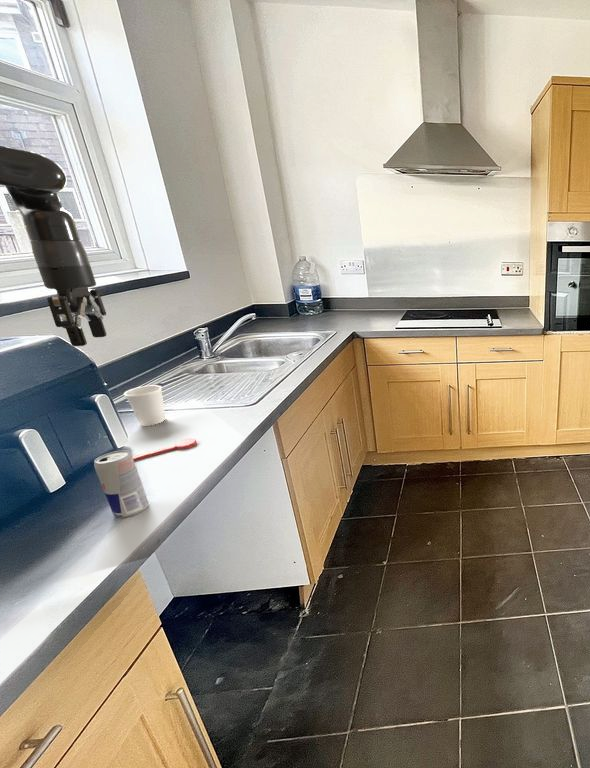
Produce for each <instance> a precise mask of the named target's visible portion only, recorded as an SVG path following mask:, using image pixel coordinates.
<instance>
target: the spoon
mask: <svg viewBox="0 0 590 768" xmlns="http://www.w3.org/2000/svg"><path fill="white" fill-rule="evenodd" d="M197 444H198V442H197V439H196V438H185V439H181V440H179V441H177V442H175V444H174V445H171V446H166V447H163V448H159V449H156V450H152V451H149V452H145V453H142V454H137V455H135V456H132V457H133V460H134V462H136V461H139V460H142V459H147V458H150V457H153V456H156V455H160V454H163V453H169V452H171V451H174V450H186V449H190V448H193V447H195V446H196V445H197Z"/></svg>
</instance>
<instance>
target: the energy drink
mask: <svg viewBox="0 0 590 768" xmlns="http://www.w3.org/2000/svg"><path fill="white" fill-rule="evenodd" d="M133 457H134V456H133V455H132V454H131V452H130V451H128V450H125V449H124V450H115V451H111V452H107V453H104V454H102V455H100V456H98V457H97V458H95V459H94V461H93V463H94V464H93V467H94V470H95V473H96V475H97V477H98V480H99V483H100V485H101V488H102V490H103V493H104V495H105V498H106V501H107V503H108V505H109V507H110V510H111V512H112V515H113V516H114V517H115V518H119V519H120V518H123V519H124V518H129V517H132V516H135V515H137V514H140V513H141V512H143V511H144V510H146V509H147V508H148V506H149V504H150V502H149V499H148V496H147V493H146V491H145V488H144V485H143V483H142V480H141V477H140V474H139V471H138V468H137V466H136V463H135V461H134V460H133Z"/></svg>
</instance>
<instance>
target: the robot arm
mask: <svg viewBox="0 0 590 768" xmlns="http://www.w3.org/2000/svg"><path fill="white" fill-rule="evenodd" d="M67 182H68V181H67V175H66V172H65V171H64V169H63V168H62V167H61V165H59V164H58V163H57V162H55V161H54V160H52V159H51V158H50V157H47V156H45V155H43V154H40V153H37V152H33V151H30V150H24V149H20V148H14V147H9V146H3V145H0V186H4V187H5V188H6V190H7V192H8V195H9V196H10V198H11V199H12V201H13V203H14V205H15V206H16V208H17V210H18V211H19V213H20V216H21V217H22V220H23V224H24V227H25V230H26V232H27V236H28V238H29V240H30V246H31V251H32V254H33V257H34V260H35V263H36V266H37V269H38V271H39V275H40V277H41V280H42V282H43V286H44V287H45V288H46V289H50V290H56V294H57V295H52V296H47V297H46V300H47V303H48V305H49V306H48V307H49V309H50V312H51V315H52V319H53V321H54V324H55V326H56V328H63V329H65V330H66V334H67V336H68V339H69V343H70V344H71V346H73V347H84V346H86V345H87V344H88V341H87V339H86V335H85V333H84V330H83V327H81V326H82V320H83V319H84V318H85V319H86V320H87V323H88V326H89V329H90V332H91V335H92V337H93V338H105V337H107V331H106V328H105V325H104V322H103V320H104V316H107V312H106V308H105V306H104V303H103V299H102V297H101V295H100V292H99V289H98V288H93V287H96V285H97V282H96V278H95V276H94V273H93V272H94V271H93V270H92V267H91V263H90V260H89V257H88V254H87V251H86V249H85V246H84V245H83V243H82V241H81V238H80V235H79V231H78V228H77V224H76V222H75V220H74V218H73V216H72V214H71V213H70V212H68V211H67V210H65V209H64V207H63V205H62V202H61V199H60V198H59V196H58V193H59V192H61V191H62V190H63V189H64V188H65V187H66V185H67ZM92 288H93V289H92Z"/></svg>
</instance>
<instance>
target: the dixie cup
mask: <svg viewBox="0 0 590 768" xmlns="http://www.w3.org/2000/svg"><path fill="white" fill-rule="evenodd" d="M162 390H163V387H162V386H161V385H156V384H153V385H151V384H150V385H143V386H138V387H134V388H130V389H128V390H126V391H125V392H124V393H123V396H124V397H125V398H126V400H127V402H128V403H129V405H130V407H131V409H132V411H133V413H134V415H135V417H136V418H137V420H138V422H139V424H140V426H141V427H151V425H152V426H156V425H159V424H158V423H160V424H162V423H164V422H165V421H166V420H165V419H166V412H165V405H164V398H163V392H162ZM164 420H165V421H164ZM163 421H164V422H163ZM161 422H162V423H161ZM155 424H156V425H155Z"/></svg>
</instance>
